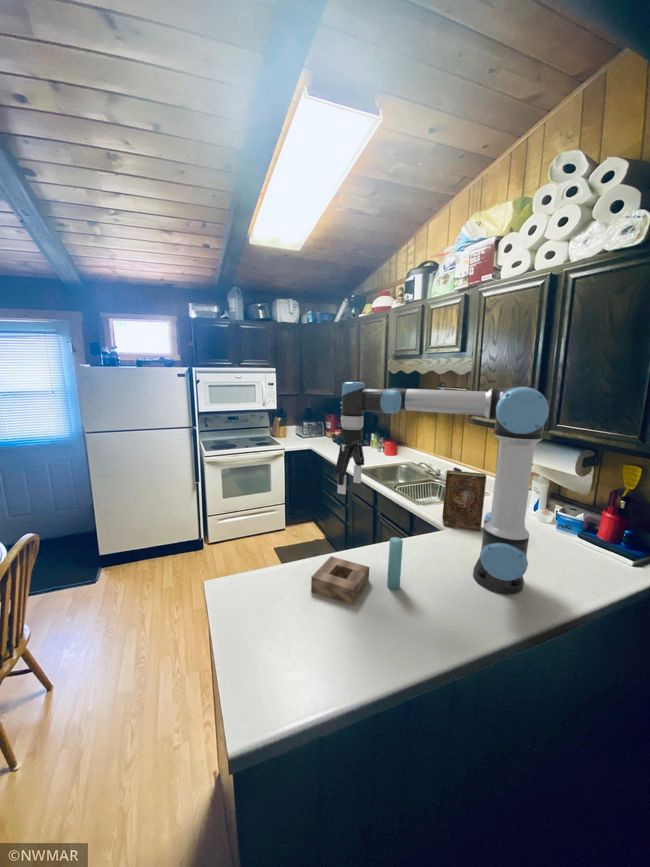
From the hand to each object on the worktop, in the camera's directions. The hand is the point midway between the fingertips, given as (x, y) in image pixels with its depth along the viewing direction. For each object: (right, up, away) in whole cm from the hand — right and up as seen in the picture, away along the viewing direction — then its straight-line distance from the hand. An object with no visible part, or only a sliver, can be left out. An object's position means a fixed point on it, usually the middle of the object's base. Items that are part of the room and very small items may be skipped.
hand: (349, 487), depth 120 cm
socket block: (-4, -30, -10) cm, 32 cm away
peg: (+13, -30, -9) cm, 34 cm away
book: (+53, -23, +36) cm, 69 cm away
